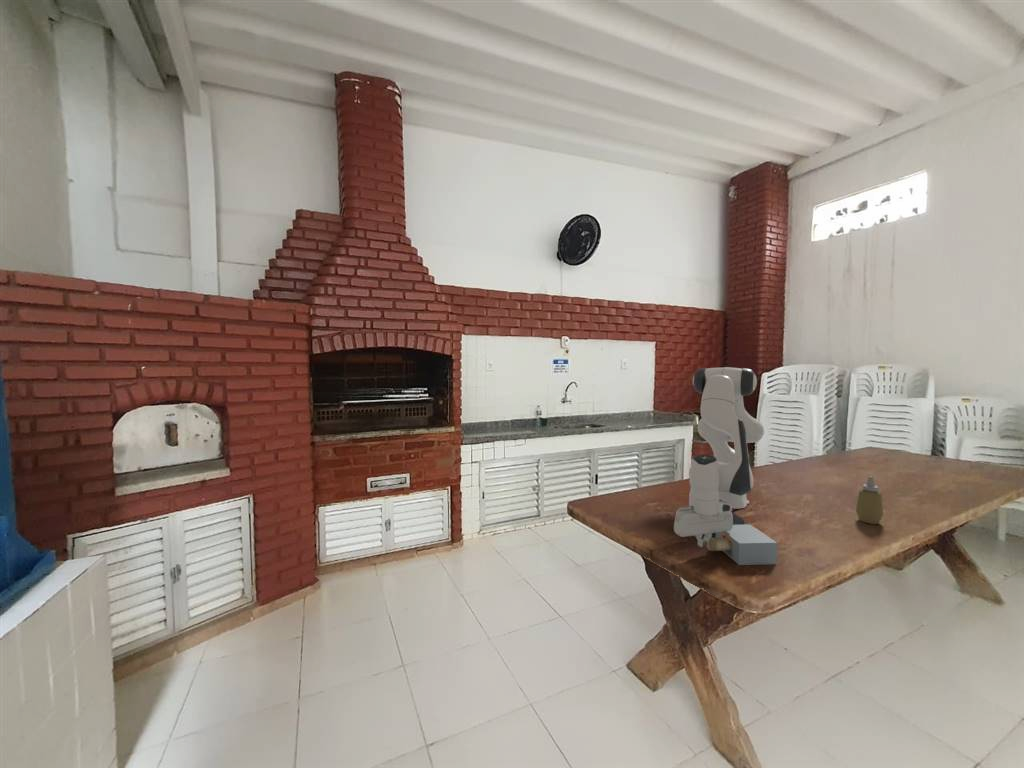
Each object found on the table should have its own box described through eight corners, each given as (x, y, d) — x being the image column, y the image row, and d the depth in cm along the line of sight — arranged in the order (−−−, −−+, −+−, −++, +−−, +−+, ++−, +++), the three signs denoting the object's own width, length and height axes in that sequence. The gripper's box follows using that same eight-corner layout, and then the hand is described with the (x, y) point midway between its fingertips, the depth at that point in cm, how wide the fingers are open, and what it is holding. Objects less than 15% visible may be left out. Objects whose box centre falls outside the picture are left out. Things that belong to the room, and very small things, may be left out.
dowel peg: (706, 547, 136) (706, 535, 136) (741, 546, 136) (741, 535, 136) (712, 553, 132) (712, 541, 132) (748, 552, 132) (748, 540, 132)
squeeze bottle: (850, 519, 162) (852, 475, 161) (862, 516, 165) (864, 472, 164) (875, 527, 154) (877, 480, 153) (887, 523, 157) (889, 478, 156)
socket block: (715, 544, 141) (716, 525, 141) (749, 543, 142) (750, 524, 141) (738, 564, 127) (739, 543, 127) (776, 564, 128) (777, 542, 127)
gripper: (682, 511, 128) (681, 554, 129) (736, 505, 133) (735, 546, 133) (670, 504, 134) (669, 545, 135) (722, 498, 139) (721, 538, 140)
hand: (702, 545), depth 134 cm, fingers closed
